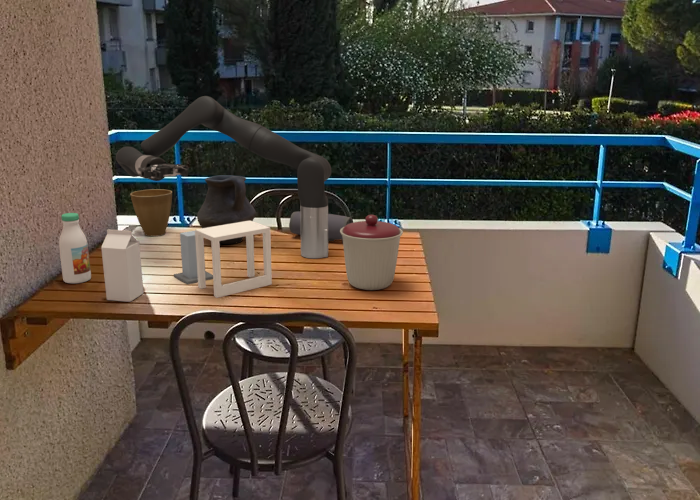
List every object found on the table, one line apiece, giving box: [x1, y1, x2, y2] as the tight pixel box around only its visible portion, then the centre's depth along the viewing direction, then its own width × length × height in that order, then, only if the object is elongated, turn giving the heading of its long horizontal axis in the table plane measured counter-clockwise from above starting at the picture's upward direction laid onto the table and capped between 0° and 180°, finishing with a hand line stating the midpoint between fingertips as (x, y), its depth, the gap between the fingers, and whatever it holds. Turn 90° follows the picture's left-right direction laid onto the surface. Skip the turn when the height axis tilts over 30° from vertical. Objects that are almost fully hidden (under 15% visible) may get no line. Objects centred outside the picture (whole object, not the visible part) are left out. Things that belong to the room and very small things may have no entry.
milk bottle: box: [58, 212, 92, 284], centre depth 185 cm, size 8×8×20 cm
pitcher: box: [196, 174, 257, 245], centre depth 227 cm, size 21×22×25 cm
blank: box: [179, 230, 206, 279], centre depth 189 cm, size 5×5×13 cm
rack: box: [194, 220, 273, 299], centre depth 182 cm, size 11×18×17 cm, turn 130°
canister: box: [340, 214, 404, 291], centre depth 183 cm, size 18×18×21 cm
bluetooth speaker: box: [288, 210, 354, 242], centre depth 233 cm, size 23×9×10 cm, turn 67°
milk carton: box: [100, 229, 144, 302], centre depth 172 cm, size 7×7×19 cm
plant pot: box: [130, 188, 173, 237], centre depth 237 cm, size 15×15×16 cm
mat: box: [173, 270, 213, 286], centre depth 191 cm, size 9×9×1 cm
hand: (173, 174), depth 191 cm, fingers open, 8 cm apart
